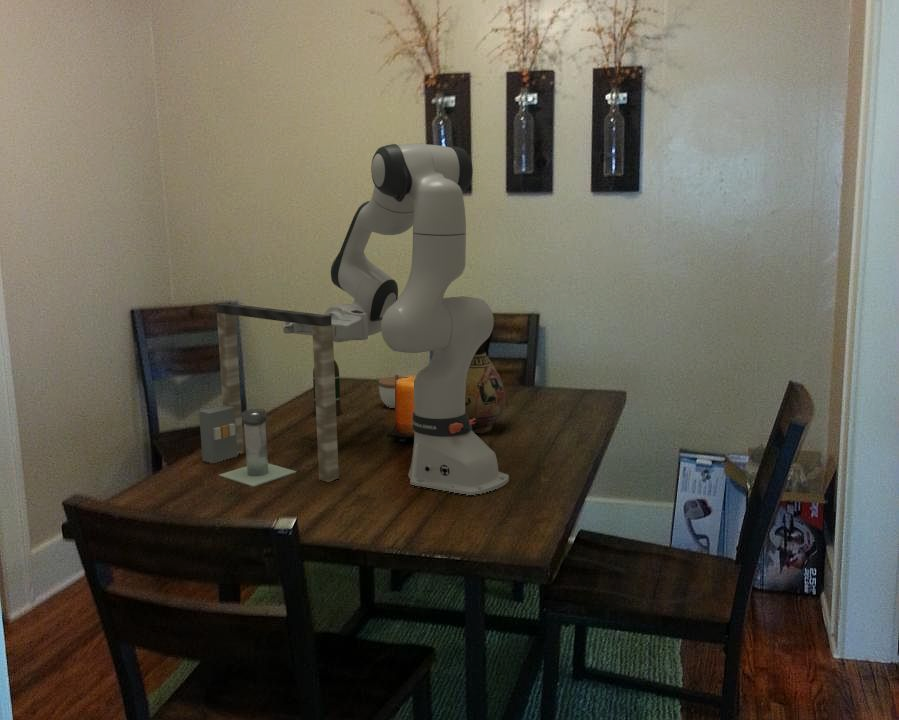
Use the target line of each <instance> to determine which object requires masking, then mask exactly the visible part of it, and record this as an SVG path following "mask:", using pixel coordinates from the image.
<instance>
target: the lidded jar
mask: <svg viewBox="0 0 899 720" xmlns="http://www.w3.org/2000/svg"><path fill="white" fill-rule="evenodd" d="M408 377H409V376H399V374H395V375H394V376H389V377H383V378H380V379H379V380H377V381H378V382H377V384H378V392H379V397H380V399H381V401H382V403H383V404H384V405H385V406H386V408H388V407H389V408H388V409H390V408H394V407H395V381H396V380H398V379H401V378H408Z"/></svg>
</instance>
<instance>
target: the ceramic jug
mask: <svg viewBox="0 0 899 720" xmlns="http://www.w3.org/2000/svg"><path fill="white" fill-rule="evenodd" d="M494 325H495V324H494ZM494 325H493V329H492V332H491V334H490V336H489V338H488V339H487V340H486V341H484V342H483V344H482V345H481V346H480V347H479V348H478V350H477V351H476V353H475V355H474V357H473V359H472V361H471V364H470V366H469V369H468V373H467V378H466V392H465V411H466V412H467V414H468V417H469V420H470V419H473V418H476V419H475V420H474V421H473V422H476V423H474V424H471V426H472V431H473V432H474V433H480V434H485V433H487V432H491V430H492V428H493V426H494V424H495V422H496V421H497V420H498V419H499V417H501V415H502V413H503V411H504V409H505V405H506V393H505V389H504V384H503V381H502V379H501V377H500V375H499V373H498V371H497V369H496V368H495V365H494V364H493V363H492V361H491V359H490V358H489V355H490V354H489V352H490V351H489V350H490V348H491V347H490V346H491V342H492V338H493V333H494V328H495V326H494Z"/></svg>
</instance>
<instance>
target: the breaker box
mask: <svg viewBox="0 0 899 720" xmlns="http://www.w3.org/2000/svg"><path fill="white" fill-rule="evenodd" d="M198 415H199V427H200V428H199V429H200V442H201V443H200V444H201V458H202V461H203V462H205V461H206V462H205V463H208V462H209V463H208V464H212V463H214V464H217V462H218V463H220V461H221V462H224V461H227V460H226V459H228V460H230V458H231V459H234V458H233V457H235V458H238V457H237V456H238V455H239V454H237V439H236V423H235V408H234V407H230V406H226V405H223V404H221V405H219V406H214V407H211V408H205V409H201V410H199V411H198ZM223 460H224V461H223Z"/></svg>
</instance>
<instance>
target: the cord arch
mask: <svg viewBox="0 0 899 720" xmlns="http://www.w3.org/2000/svg"><path fill="white" fill-rule="evenodd" d="M216 305H217V312H216V319H217V320H216V321H217V336H218V337H217V338H218V351H219V368H220V380H221V381H220V383H221V396H222V405H226V406H230V407H234V408H235V423H236V439H237V455H239V453H240V454H243V452H244V453H245V450H244V446H245V445H244V434H243V430H244V428H243V422H242V403H241V402H242V399H241V383H240V369H239V368H240V366H239V365H240V364H239V350H238V335H237V319H236V317H237V316H239V317H248V318H253V319H254V318H255V319H261V320H270V321H277V322H278V321H279V322H284V323H285V322H291V323H299V324H307V325H312V331H313V336H312V348H313V349H312V350H313V369H314V376H315V398H316V415H315V417H316V419H315V420H316V421H315V422H316V438H317V441H316V443H317V458H318V459H317V462H318V481H320V480H323V481H327V482H329V481H332V480H334V479H337V478H339V479H340V475H339V452H338V451H339V450H338V428H337V425H338V424H337V416H336V396H335V371H334V360H335V349H334V341H333V325H332V323H331V316H330V315H324V314H319V313H311V312H304V311H303V312H302V311H294V310H286V309H285V310H284V309H279V308H278V309H276V308H271V307H270V308H269V307H260V306H252V305H250V306H249V305H243V304H236V303H235V304H234V303H226V302H225V303H218V304H216ZM323 481H322V482H323ZM327 482H326V483H327Z"/></svg>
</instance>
